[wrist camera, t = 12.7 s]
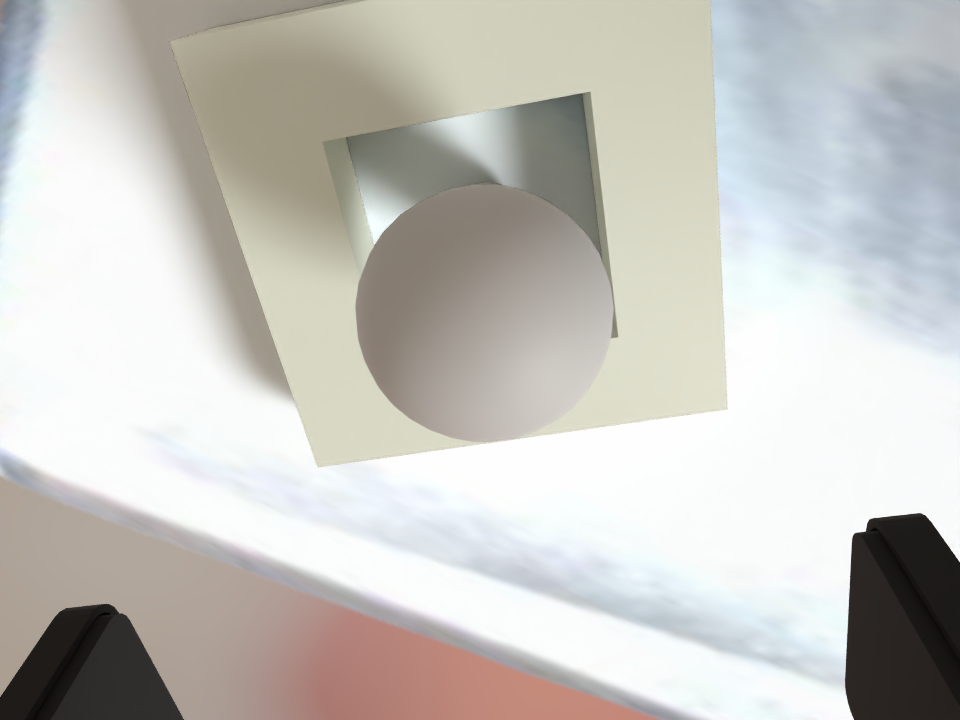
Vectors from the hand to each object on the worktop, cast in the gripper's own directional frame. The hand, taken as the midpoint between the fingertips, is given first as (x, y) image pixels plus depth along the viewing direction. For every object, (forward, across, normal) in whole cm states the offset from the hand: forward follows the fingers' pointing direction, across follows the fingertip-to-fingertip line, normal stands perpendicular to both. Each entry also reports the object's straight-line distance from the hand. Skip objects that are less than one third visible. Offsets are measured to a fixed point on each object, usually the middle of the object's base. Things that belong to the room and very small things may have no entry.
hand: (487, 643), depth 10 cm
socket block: (+18, +1, 0) cm, 18 cm away
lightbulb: (+18, +1, 0) cm, 18 cm away
